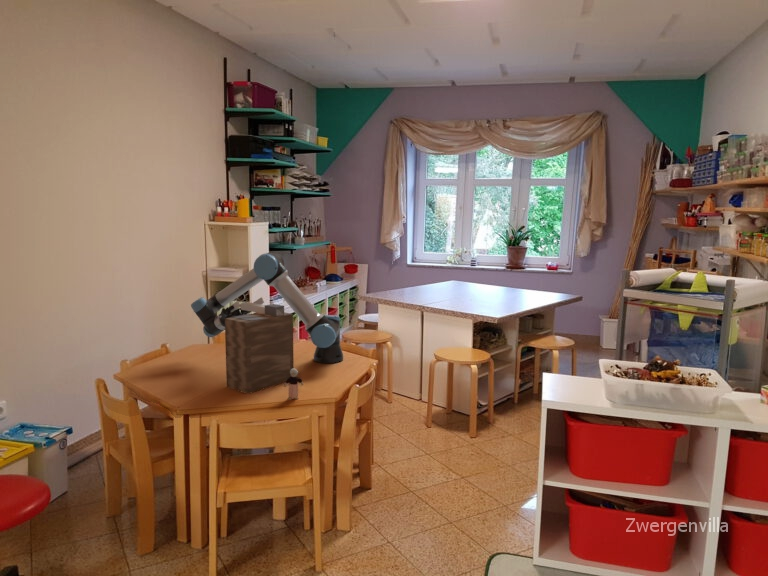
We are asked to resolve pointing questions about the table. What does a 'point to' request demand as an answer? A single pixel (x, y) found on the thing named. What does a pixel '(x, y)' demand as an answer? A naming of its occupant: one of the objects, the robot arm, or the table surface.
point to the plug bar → (263, 308)
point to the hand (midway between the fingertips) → (250, 301)
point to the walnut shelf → (258, 350)
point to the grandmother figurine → (293, 384)
